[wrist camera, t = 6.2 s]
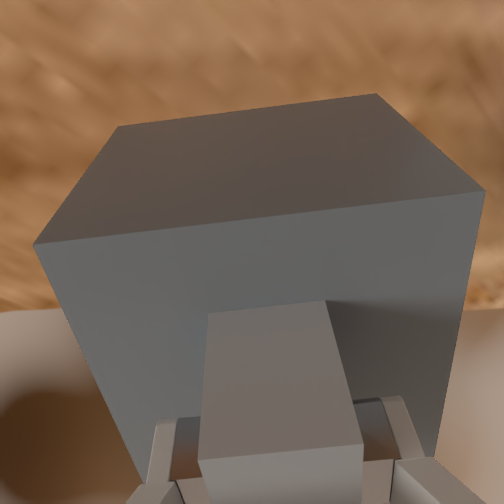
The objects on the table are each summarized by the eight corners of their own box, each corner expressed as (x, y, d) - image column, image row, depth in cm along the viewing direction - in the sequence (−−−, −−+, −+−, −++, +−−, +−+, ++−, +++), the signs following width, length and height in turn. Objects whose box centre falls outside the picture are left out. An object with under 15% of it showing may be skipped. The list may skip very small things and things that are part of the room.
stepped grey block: (376, 93, 17) (620, 310, 6) (368, 296, 23) (490, 596, 12) (118, 126, 17) (-71, 385, 7) (173, 318, 23) (120, 628, 12)
